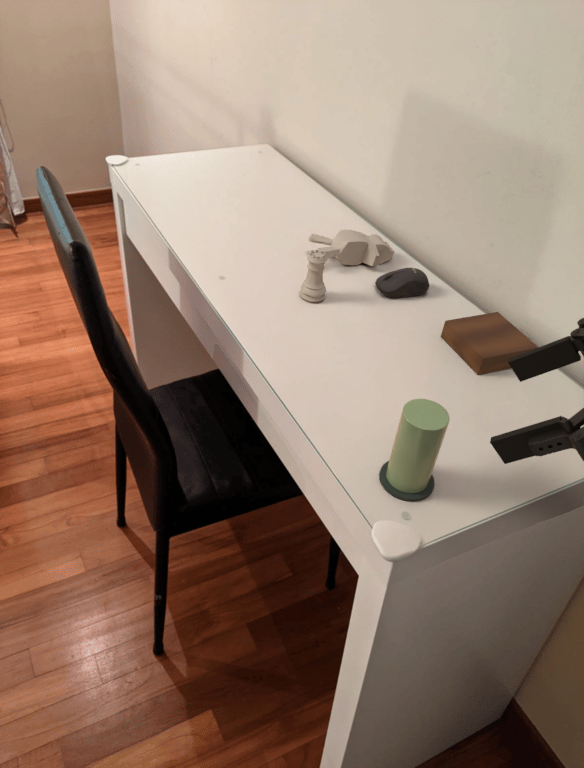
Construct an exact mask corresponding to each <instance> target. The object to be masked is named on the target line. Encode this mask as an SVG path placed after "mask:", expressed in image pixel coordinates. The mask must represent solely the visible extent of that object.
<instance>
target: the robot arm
mask: <svg viewBox="0 0 584 768" xmlns="http://www.w3.org/2000/svg"><path fill="white" fill-rule="evenodd" d="M576 324H577V326H578V327H577V328H575V329H574V330H572V331H571V332H570V333H569V334H570V335H567V336H564V337H562V338H559V339H557V340H553V341H552V342H549V343H547V344H543V345H541V346H538V347H539V348H536V349H533V350H531V351H528V352H526V353H523V354H520V355H518V356H515V357H513V358H510V359H509V360H508V363H509V365H510V367H511V368H510V369H511V370H512V371H513V373H514V374H515V376H516V377H517V379H518V381H519V383H521V382H525V381H527V380H529V379H533V378H535V377H539V376H541V375H544V374H546V373H549V372H552V371H555V370H557V369H560V368H564V367H566V366H570V365H571V364H575V363H579V362H580V361H581V360H582V357H583V358H584V317H581V318H579V320H578V321H577V322H576ZM579 352H580V353H581V354H582V356H581V354H580V353H579ZM489 443H490V445H491V446H492V448H493V449H494V451H495V452H496V453H497V455H498V457H499V458H500V459H501V461H502V463H503V464H504V465H507V464H511V463H514V462H518V461H522V460H525V459H530V458H533V457H543V456H548V455H551V454H555V453H558V452H562V451H565V450H571V449H573V450H575V451H576V452H577V454H578V455H579V457H580V459H581V460H582V462H584V407H583V408H581V409H580V410H579V411H577V412H576V413H575V414H574V415H572V416H571V417H570V418H568V417H565V416H562V415H560V416H556V417H553V418H550V419H547V420H543V421H540V422H536V423H532V424H530V425H527V426H524V427H520V428H516V429H513V430H510V431H507V432H504V433H500V434H497V435H493V436H491V437H490V441H489Z"/></svg>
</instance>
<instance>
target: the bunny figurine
mask: <svg viewBox="0 0 584 768" xmlns="http://www.w3.org/2000/svg"><path fill="white" fill-rule="evenodd" d="M308 241H309V242H310V243H314V244H319V245H325V246H324V247H318V248H317V249H318V252H320V251H321V250H322V251H324V253H325V254H326V255H325V256H326V258H327V260H329V259H332V258H336V259H337V260H338V261H339V262H340V264H341V265H343V266H345V265H346V266H359V265H360V264H365V265H368V266H370V267H377V266H378V265H379V266H380V265H382V264H384V263H386V262H387V261H388V260H392V259H393V258H394V254H395V250H394V249H393V248H392V247H391V245H390V244H389V243H388V241H385V240H383V238H382V237H381V236H380V235H378V234H370V235H367V234H365V233H363V232H360V231H357V230H353V229H340V230H339V231H338V232H337V234H336V235H335V236H334V237H333V238H330V237H327V236H324V235H320V234H317V233H311V234H310V235H309V237H308Z"/></svg>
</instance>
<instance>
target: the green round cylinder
mask: <svg viewBox="0 0 584 768" xmlns="http://www.w3.org/2000/svg"><path fill="white" fill-rule="evenodd" d="M450 420H451V419H450V414H449V412H448V410H447V409H446V408H445V407H444V406H443V405H441V404H440V403H438V402H436V401H434V400H431V399H426V398H414V399H411V400H408V401H407V402H406V403H404V405H403V407H402V410H401V413H400V419H399V422H398V425H397V430H396V433H395V437H394V441H393V445H392V448H391V452H390V456H389V459H388V461H389V463H388V467H387V470H386V477H387V480H388V481H389V483H390V484H391V485H392V486H393V487H394V488H396V489H397V490H399V491H402V492H405V493H418V492H421V491H423V490H424V489H425V488H426V487H427V486H428V483H429V480H430V477H431V474H432V475H433V471H434V468H435V465H436V462H437V459H438V456H439V455H440V454H439V453H440V451H441V447H442V445H443V441H444V439H445V435H446V433H447V431H448V430H447V429H448V426H449V424H450Z"/></svg>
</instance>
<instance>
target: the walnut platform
mask: <svg viewBox="0 0 584 768" xmlns="http://www.w3.org/2000/svg"><path fill="white" fill-rule="evenodd" d="M440 338H441V339H442V340H443V341H444V342H445V343H446V344H447V345H448V346H449V347H450V348H451V349H452V350H453V351H454V352H455V353H456V354H457V355H458V356H459V357H460V358H461V359H462V360H463V361H464V362H465V363H466V365H467V366H468V367H469V368H471V369H472V371H473V372H474V373H475V374H476V375H477V376H479V375H480V376H481V375H484V374H485V375H486V374H489V373H495V372H499V371H503V370H508V369H512V368H511V367H510V365H509V363H508V360H509V359H510V358H513V357H515V356H518V355H520V354H523V353H526V352H528V351H531V350H533V349H536V348H539V347H540V346H538V345H536V343H534V342H533V341H532V339H530V338H529V337H527V336H526V335H525V334H524V333H523V332H522V331H521V330H519V329H518V328H517V327H516V326H515V325H513V324H512V322H511V321H509V320H508V319H507V318H506V317H505V316H504V315H502V314H501V313H500V312H499V311H496V312H488V313H483V314H477V315H471V316H465V317H464V316H463V317H458V318H454V319H448V320H445V321H444V324H443V327H442V331H441V334H440Z"/></svg>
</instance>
